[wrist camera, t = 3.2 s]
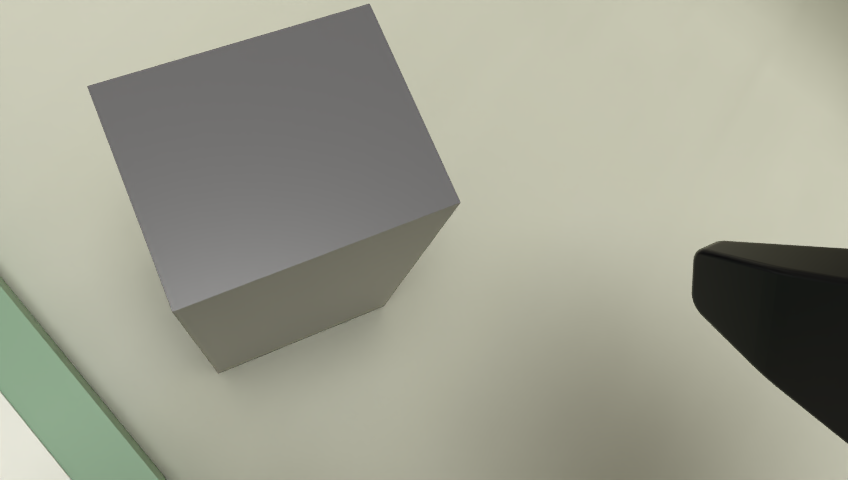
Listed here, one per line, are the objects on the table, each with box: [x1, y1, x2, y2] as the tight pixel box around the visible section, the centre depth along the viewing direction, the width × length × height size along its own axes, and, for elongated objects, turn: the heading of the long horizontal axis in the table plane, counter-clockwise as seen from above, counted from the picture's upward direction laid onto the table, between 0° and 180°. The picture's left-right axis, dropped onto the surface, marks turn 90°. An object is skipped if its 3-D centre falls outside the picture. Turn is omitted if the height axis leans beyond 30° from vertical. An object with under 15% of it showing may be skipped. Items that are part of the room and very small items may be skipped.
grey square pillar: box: [87, 4, 460, 373], centre depth 18 cm, size 4×5×10 cm
